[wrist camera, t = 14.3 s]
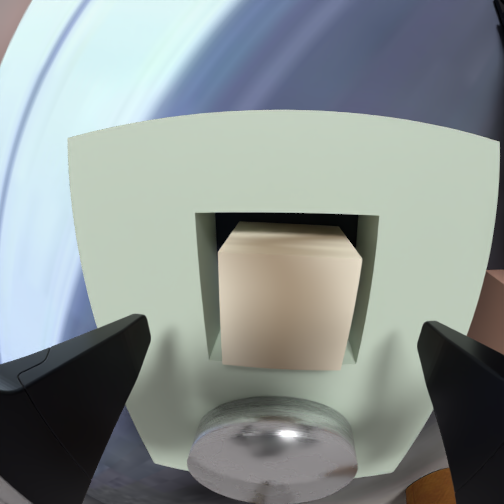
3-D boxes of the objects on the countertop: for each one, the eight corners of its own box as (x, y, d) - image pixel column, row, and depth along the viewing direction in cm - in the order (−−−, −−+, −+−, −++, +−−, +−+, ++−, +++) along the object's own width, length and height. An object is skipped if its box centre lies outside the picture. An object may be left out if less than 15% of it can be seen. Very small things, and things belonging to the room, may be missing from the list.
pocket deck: (463, 141, 10) (499, 141, 8) (386, 444, 17) (392, 472, 15) (104, 138, 12) (67, 138, 10) (165, 436, 19) (154, 463, 17)
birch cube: (338, 225, 13) (362, 259, 9) (327, 312, 14) (340, 370, 10) (239, 221, 13) (218, 252, 9) (239, 308, 15) (222, 364, 10)
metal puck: (369, 393, 12) (379, 431, 10) (336, 474, 15) (338, 503, 12) (186, 387, 13) (170, 424, 11) (207, 469, 16) (200, 496, 13)
